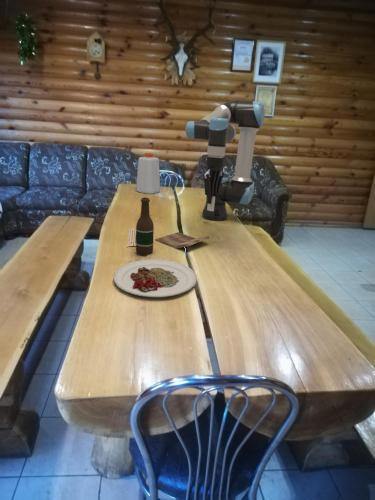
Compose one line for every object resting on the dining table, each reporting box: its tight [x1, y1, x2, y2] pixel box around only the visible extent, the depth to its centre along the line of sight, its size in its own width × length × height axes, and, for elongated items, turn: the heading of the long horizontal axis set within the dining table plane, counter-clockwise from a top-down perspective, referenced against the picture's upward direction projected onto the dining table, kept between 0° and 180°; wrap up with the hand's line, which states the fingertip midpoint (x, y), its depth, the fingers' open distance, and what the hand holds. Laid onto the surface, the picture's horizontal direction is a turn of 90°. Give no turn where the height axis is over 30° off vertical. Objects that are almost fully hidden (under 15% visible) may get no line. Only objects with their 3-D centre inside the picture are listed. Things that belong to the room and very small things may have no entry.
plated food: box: [112, 258, 197, 298], centre depth 125 cm, size 30×30×3 cm
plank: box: [173, 235, 210, 249], centre depth 157 cm, size 16×8×1 cm, turn 139°
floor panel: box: [154, 231, 197, 249], centre depth 164 cm, size 16×12×1 cm
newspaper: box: [126, 228, 136, 248], centre depth 164 cm, size 24×7×2 cm, turn 7°
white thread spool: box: [135, 152, 161, 195], centre depth 254 cm, size 15×15×28 cm
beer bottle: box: [135, 197, 155, 257], centre depth 144 cm, size 8×8×24 cm
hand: (210, 210), depth 155 cm, fingers closed
